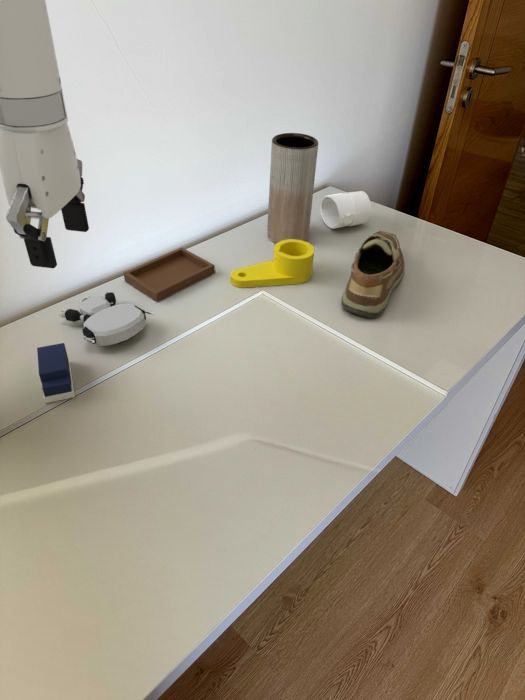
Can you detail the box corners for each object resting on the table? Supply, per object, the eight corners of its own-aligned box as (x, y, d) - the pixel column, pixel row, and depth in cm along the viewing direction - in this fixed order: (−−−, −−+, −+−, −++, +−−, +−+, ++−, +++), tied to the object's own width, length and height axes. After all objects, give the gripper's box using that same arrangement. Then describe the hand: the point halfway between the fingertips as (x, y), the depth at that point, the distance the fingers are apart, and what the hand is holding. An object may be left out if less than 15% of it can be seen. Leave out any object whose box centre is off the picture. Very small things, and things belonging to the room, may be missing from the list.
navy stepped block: (42, 366, 88) (36, 346, 85) (69, 361, 89) (64, 341, 87) (45, 403, 82) (38, 382, 79) (74, 397, 83) (69, 376, 80)
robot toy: (58, 326, 98) (99, 361, 89) (51, 306, 95) (94, 340, 87) (115, 302, 105) (159, 332, 96) (111, 282, 102) (156, 311, 93)
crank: (302, 261, 118) (304, 237, 115) (317, 280, 112) (320, 255, 109) (225, 273, 113) (225, 248, 109) (237, 294, 107) (237, 268, 103)
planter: (272, 248, 123) (278, 149, 108) (262, 228, 130) (266, 133, 115) (313, 244, 125) (324, 147, 110) (301, 225, 132) (310, 131, 117)
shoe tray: (157, 302, 104) (156, 293, 103) (124, 281, 109) (123, 272, 108) (214, 273, 113) (214, 265, 112) (182, 255, 118) (181, 247, 117)
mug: (369, 230, 131) (375, 199, 126) (337, 236, 128) (341, 205, 123) (345, 210, 140) (349, 181, 135) (314, 215, 137) (317, 185, 132)
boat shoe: (407, 257, 122) (417, 214, 115) (392, 327, 100) (403, 280, 94) (360, 248, 124) (367, 206, 117) (336, 316, 103) (343, 269, 96)
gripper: (35, 86, 65) (63, 215, 76) (-50, 129, 52) (-1, 278, 63) (93, 90, 64) (113, 221, 75) (23, 136, 51) (59, 286, 62)
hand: (61, 247), depth 69 cm, fingers open, 9 cm apart
